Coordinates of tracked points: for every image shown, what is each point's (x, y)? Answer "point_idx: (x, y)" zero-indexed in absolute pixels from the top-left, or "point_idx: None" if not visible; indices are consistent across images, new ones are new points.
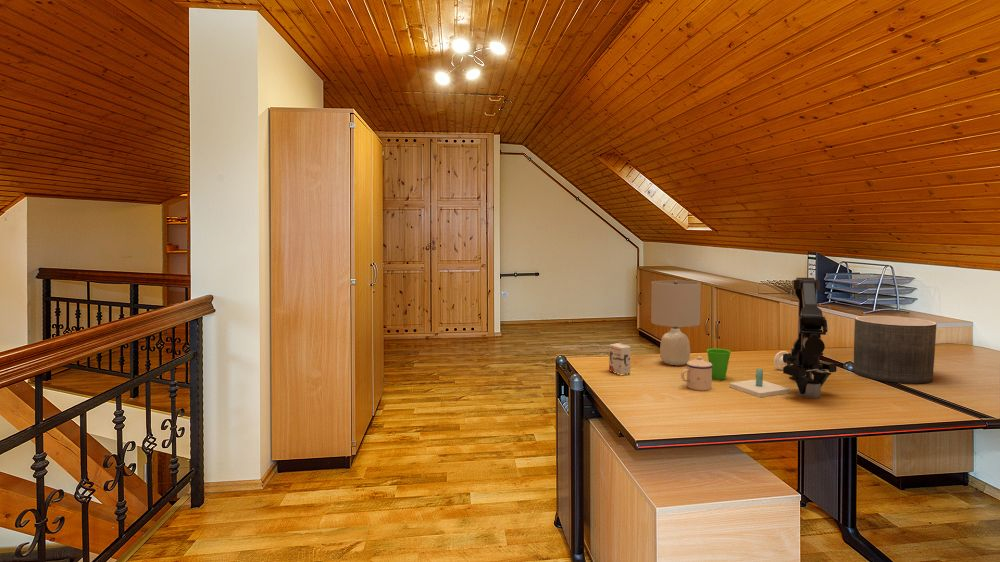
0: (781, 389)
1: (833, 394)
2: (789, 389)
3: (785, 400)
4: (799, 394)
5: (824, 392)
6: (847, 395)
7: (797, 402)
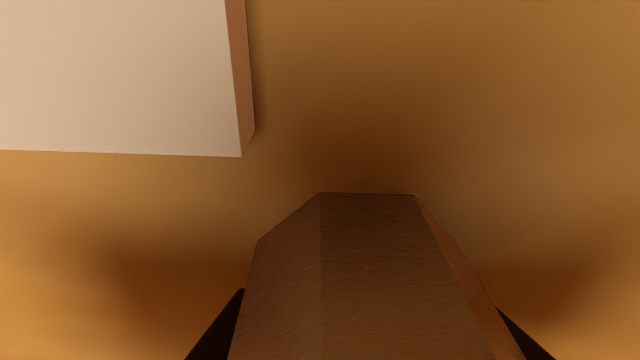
0: (54, 123)
1: (589, 311)
2: (225, 153)
3: (13, 276)
4: (255, 259)
5: (614, 257)
6: (631, 350)
7: (99, 331)
